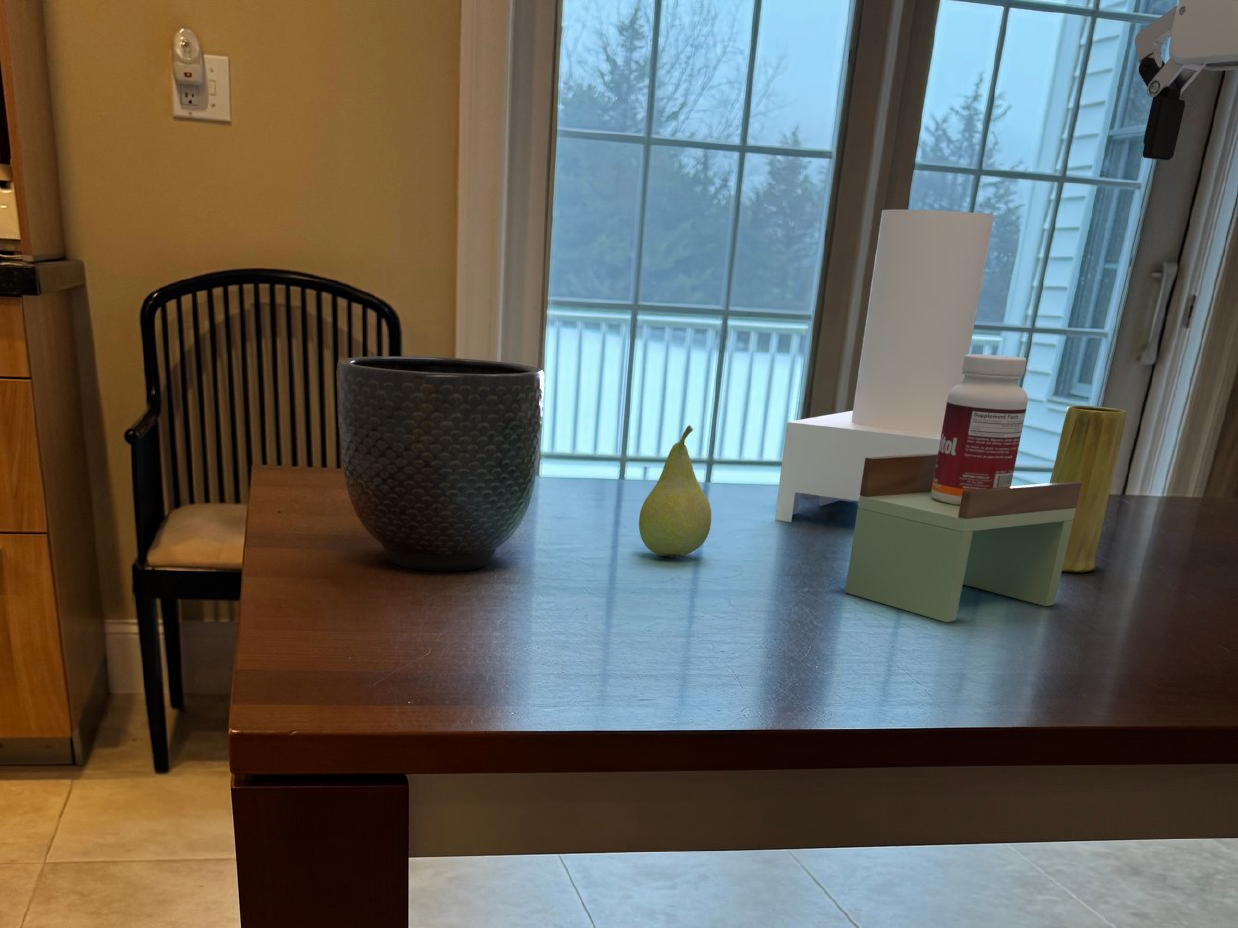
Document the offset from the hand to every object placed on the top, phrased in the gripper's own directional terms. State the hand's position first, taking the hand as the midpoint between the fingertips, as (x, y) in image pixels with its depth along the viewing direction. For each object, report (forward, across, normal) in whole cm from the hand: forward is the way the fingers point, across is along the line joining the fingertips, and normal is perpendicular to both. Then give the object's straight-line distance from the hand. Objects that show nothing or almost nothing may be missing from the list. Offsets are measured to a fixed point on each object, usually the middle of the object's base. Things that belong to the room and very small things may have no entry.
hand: (1215, 157), depth 97 cm
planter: (+34, +36, +46) cm, 67 cm away
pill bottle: (+26, +6, +13) cm, 29 cm away
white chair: (+34, +35, -11) cm, 50 cm away
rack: (+33, +6, +13) cm, 36 cm away
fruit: (+34, +29, +25) cm, 51 cm away
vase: (+34, +11, -9) cm, 36 cm away
